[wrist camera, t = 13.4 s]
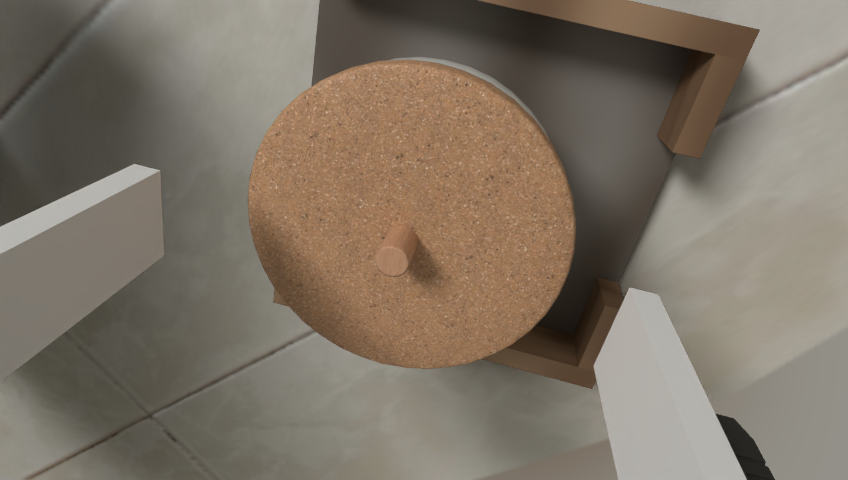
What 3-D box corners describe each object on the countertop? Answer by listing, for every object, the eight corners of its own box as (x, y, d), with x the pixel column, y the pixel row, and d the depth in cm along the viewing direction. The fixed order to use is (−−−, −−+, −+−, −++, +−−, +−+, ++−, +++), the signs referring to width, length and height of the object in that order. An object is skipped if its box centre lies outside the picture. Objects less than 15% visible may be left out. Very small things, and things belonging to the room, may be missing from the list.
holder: (297, 271, 28) (273, 302, 25) (331, -64, 21) (301, -73, 18) (584, 348, 27) (592, 388, 24) (726, 24, 20) (759, 29, 17)
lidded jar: (592, 67, 20) (641, 119, 12) (524, 291, 25) (526, 436, 17) (335, 16, 21) (215, 32, 13) (316, 242, 26) (221, 359, 18)
